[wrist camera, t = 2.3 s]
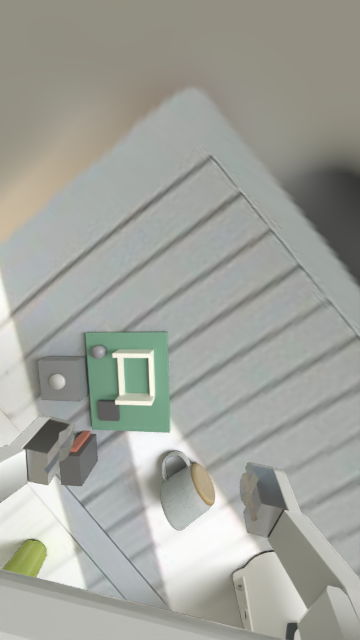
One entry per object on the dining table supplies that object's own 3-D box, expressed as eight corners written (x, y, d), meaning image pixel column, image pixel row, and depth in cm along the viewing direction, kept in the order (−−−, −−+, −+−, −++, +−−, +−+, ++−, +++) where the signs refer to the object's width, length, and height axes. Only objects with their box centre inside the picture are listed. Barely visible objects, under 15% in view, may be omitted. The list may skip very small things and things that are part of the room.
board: (170, 428, 41) (167, 443, 37) (95, 425, 42) (84, 439, 38) (167, 331, 39) (163, 335, 35) (88, 332, 40) (75, 335, 36)
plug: (97, 460, 43) (81, 486, 37) (80, 459, 44) (61, 484, 38) (95, 431, 43) (78, 452, 37) (77, 430, 43) (58, 451, 37)
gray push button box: (88, 393, 42) (78, 402, 38) (52, 392, 43) (39, 401, 39) (85, 356, 41) (74, 361, 37) (49, 356, 42) (34, 361, 38)
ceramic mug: (216, 478, 41) (220, 519, 34) (186, 499, 42) (183, 543, 35) (183, 439, 41) (178, 471, 34) (153, 461, 42) (143, 496, 35)
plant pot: (61, 552, 47) (31, 609, 38) (37, 573, 48) (2, 633, 40) (33, 524, 47) (-5, 575, 38) (9, 546, 48) (-32, 600, 40)
